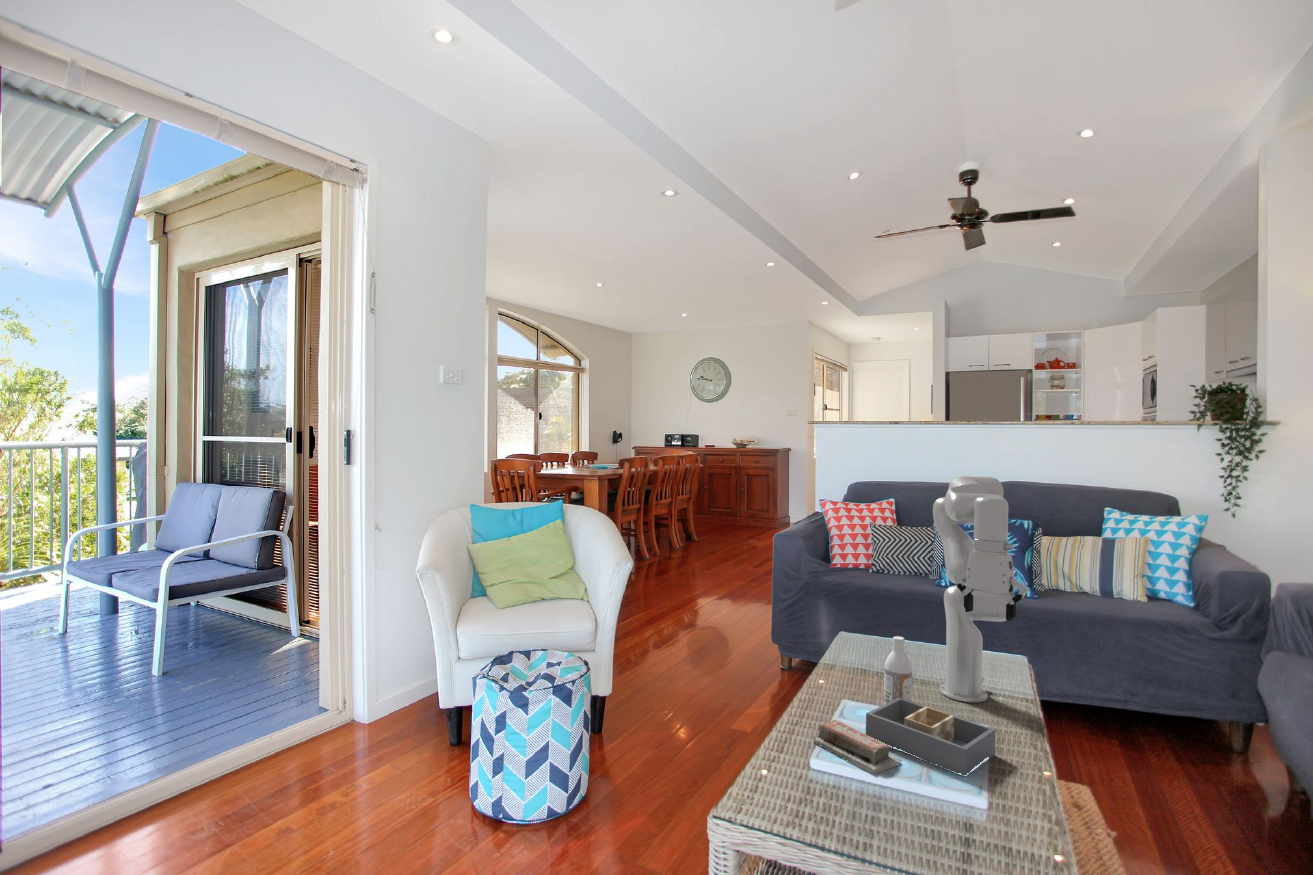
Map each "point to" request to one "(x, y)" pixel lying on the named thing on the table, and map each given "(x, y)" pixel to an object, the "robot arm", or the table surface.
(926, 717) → the pine crate
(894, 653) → the bath foam
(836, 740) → the packaged product
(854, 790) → the table surface
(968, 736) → the charcoal crate
